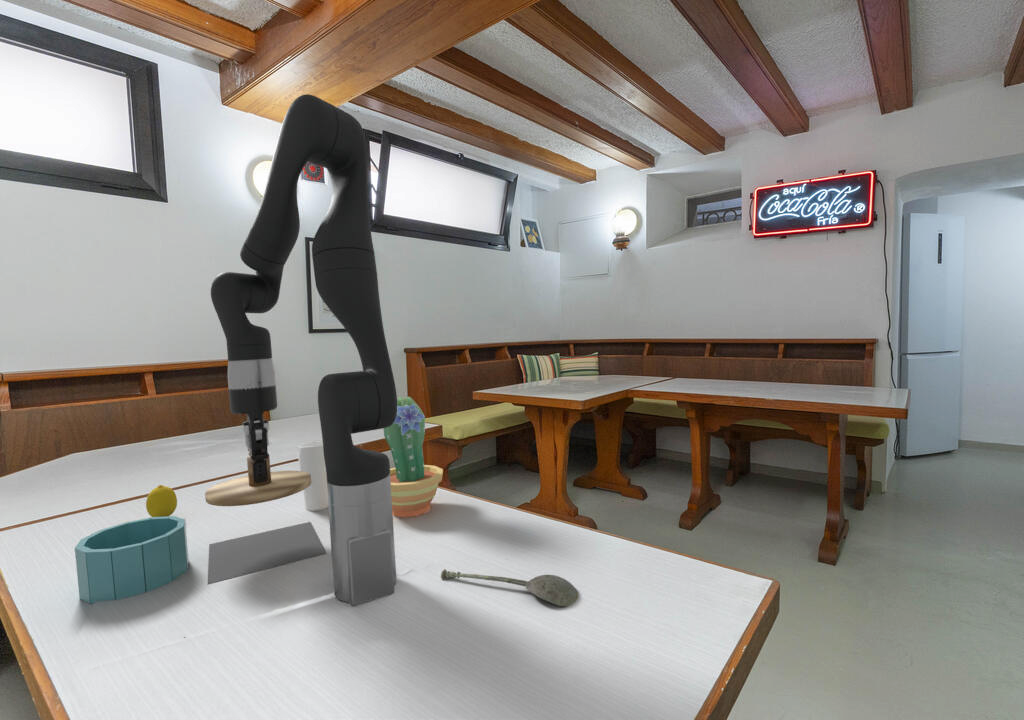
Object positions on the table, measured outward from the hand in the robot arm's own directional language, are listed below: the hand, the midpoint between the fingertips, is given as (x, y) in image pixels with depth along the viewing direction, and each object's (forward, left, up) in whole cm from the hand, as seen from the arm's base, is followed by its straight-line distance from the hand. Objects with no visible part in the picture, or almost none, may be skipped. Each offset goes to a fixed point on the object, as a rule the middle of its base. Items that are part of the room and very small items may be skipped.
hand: (259, 478), depth 88 cm
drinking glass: (+18, -12, -14) cm, 26 cm away
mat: (0, 0, -14) cm, 14 cm away
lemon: (+32, +18, -14) cm, 39 cm away
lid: (0, 0, -2) cm, 2 cm away
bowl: (+1, +19, -14) cm, 23 cm away
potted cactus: (+4, -29, -14) cm, 33 cm away
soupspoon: (-37, -30, -14) cm, 49 cm away
